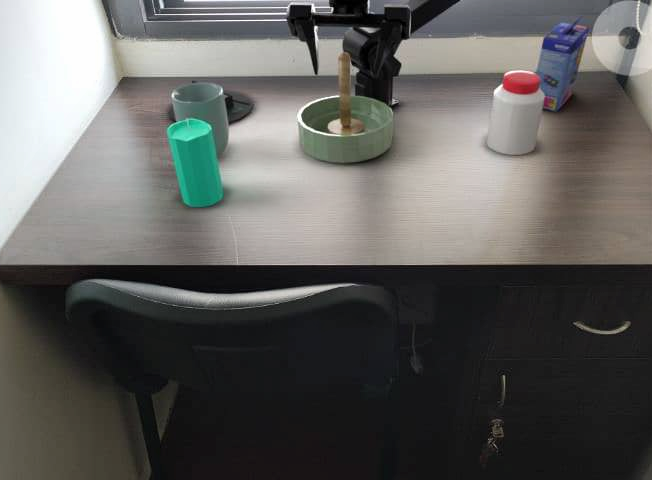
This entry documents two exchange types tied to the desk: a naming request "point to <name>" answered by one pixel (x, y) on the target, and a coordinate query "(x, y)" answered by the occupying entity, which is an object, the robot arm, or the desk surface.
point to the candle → (195, 162)
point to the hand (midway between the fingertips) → (345, 75)
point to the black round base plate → (231, 106)
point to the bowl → (345, 146)
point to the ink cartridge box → (560, 62)
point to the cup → (204, 109)
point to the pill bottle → (516, 113)
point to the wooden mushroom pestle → (345, 102)
